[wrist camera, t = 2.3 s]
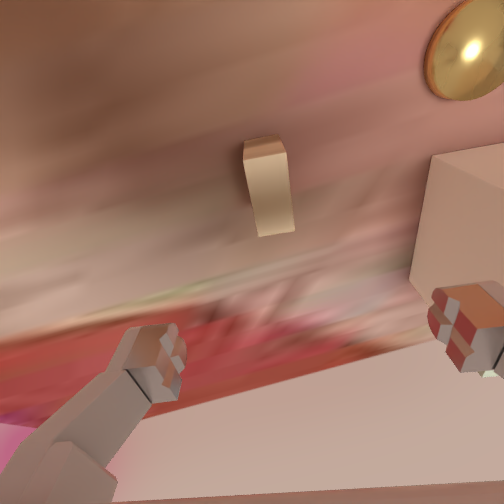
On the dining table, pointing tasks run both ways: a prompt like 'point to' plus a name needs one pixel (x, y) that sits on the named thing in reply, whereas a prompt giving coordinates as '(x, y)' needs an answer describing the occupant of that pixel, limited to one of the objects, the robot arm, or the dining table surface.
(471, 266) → the box
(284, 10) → the dining table surface
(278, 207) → the block
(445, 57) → the brass disc
